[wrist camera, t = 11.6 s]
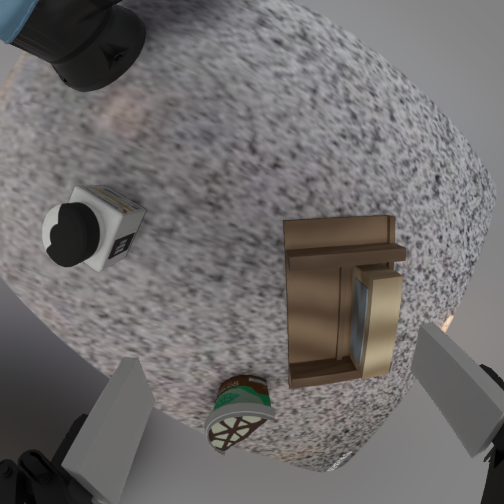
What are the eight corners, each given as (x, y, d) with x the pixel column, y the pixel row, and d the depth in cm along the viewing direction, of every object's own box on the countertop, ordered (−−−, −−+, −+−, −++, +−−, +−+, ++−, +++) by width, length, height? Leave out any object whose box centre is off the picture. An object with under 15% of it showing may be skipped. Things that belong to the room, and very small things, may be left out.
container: (147, 209, 35) (97, 221, 22) (125, 258, 36) (75, 288, 24) (105, 184, 34) (46, 186, 21) (85, 232, 36) (28, 250, 23)
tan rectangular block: (351, 263, 35) (372, 280, 28) (379, 261, 35) (404, 276, 28) (346, 352, 38) (360, 379, 32) (371, 348, 38) (389, 373, 31)
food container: (240, 355, 40) (237, 399, 30) (272, 374, 40) (276, 419, 31) (196, 398, 42) (186, 441, 32) (226, 414, 42) (221, 457, 33)
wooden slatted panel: (283, 220, 35) (287, 225, 30) (389, 215, 35) (406, 219, 30) (288, 384, 41) (292, 405, 36) (375, 371, 40) (385, 388, 36)
